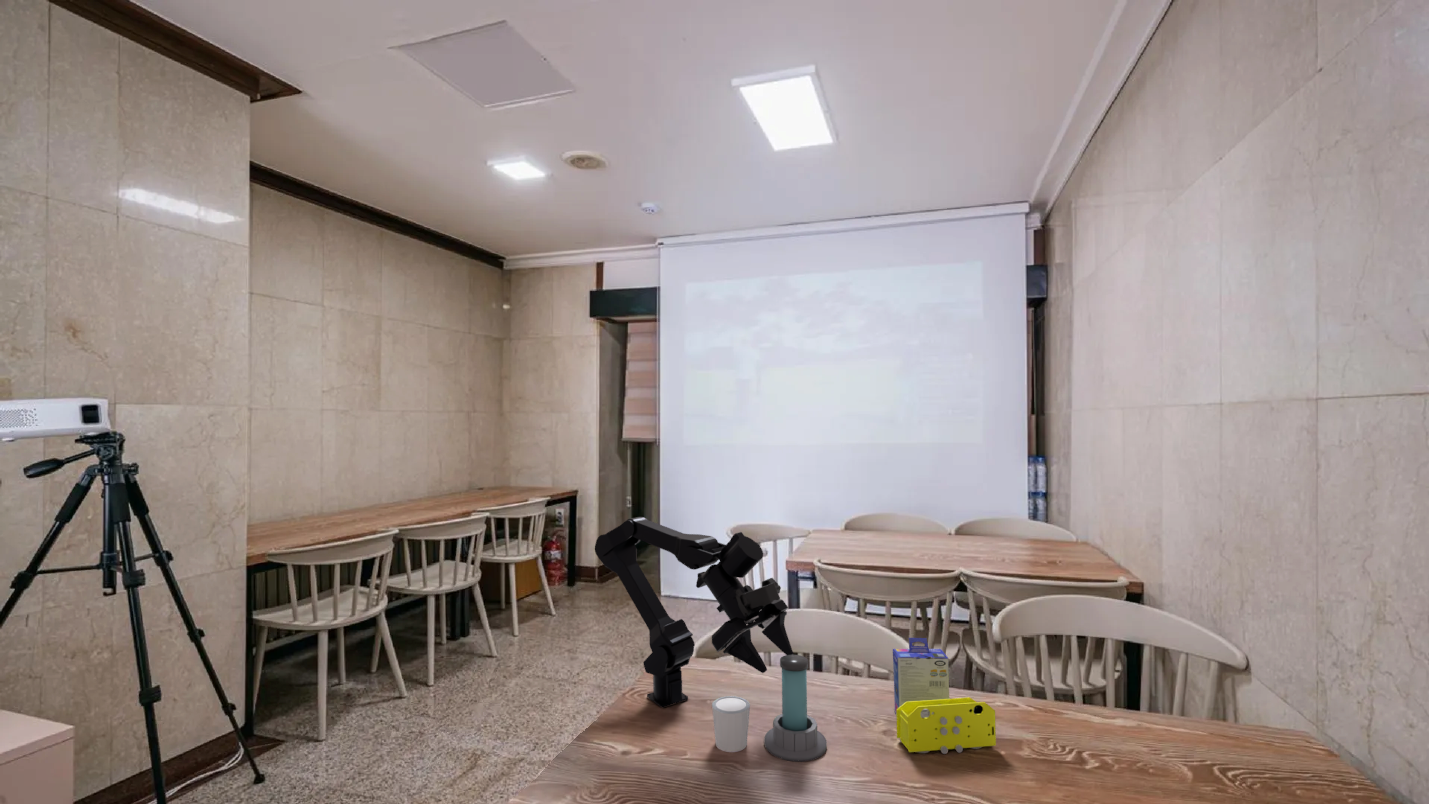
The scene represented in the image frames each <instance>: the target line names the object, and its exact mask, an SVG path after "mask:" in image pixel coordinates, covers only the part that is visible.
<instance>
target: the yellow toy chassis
mask: <svg viewBox="0 0 1429 804" xmlns="http://www.w3.org/2000/svg"><path fill="white" fill-rule="evenodd" d="M895 715H896V738H897V739H899V740H900V742H901V743H902V744H903V746H905V748H906V750H908V753H914V752H915V753H918V754H927V753H930V751H940V752H941V754H944V755H945V754H947V753H948V751H949V750H956V752H957V753H959V754H960V753H962V752H963V751H964V750H963V749H967V748H970V749H974V750H979V749H982V748H983V747H995V746H997V738H996V737H997V736H996V735H997V734H996V733H997V731H996V729H997V728H996V710H995V709H994V708H993V707H991V705H989V704H988V703H987V702H985V701H979V702H978V701H976V700H975V699H973V698H972V697H968V696H967V697H957V698H949V699H938V700H923V701H909V702H905V703H904V704H903V705H901V706H900V707H899V708H898V709H897V710H896V713H895Z"/></svg>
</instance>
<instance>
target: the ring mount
mask: <svg viewBox="0 0 1429 804" xmlns="http://www.w3.org/2000/svg"><path fill="white" fill-rule="evenodd" d="M763 740H764V747H765V749H766V750H767V752H769V754H771V755H772V756H774V757H776V758H778V759H781V760H784V761H789V762H795V763H796V762H798V763H799V762H801V763H802V762H809V761H813V760H816V759H819V758H820V757H822V756H823V755H824V754H825V753H826V751H827V748H828V746H827V745H828V744H827V739H826V736H825V735H824V734H823V733H822V732H821V731H819V730H818V723H817V721H816V718H814V717H812V716H811V715H808V714H807V730H805V731H790V730H786V729H784V728H782V713H781V714H777V715H776V716H775V718H774V719H773V721H772V728H771V729H769V730H768V731H767V732H766V733H765V734H764V739H763Z"/></svg>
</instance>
